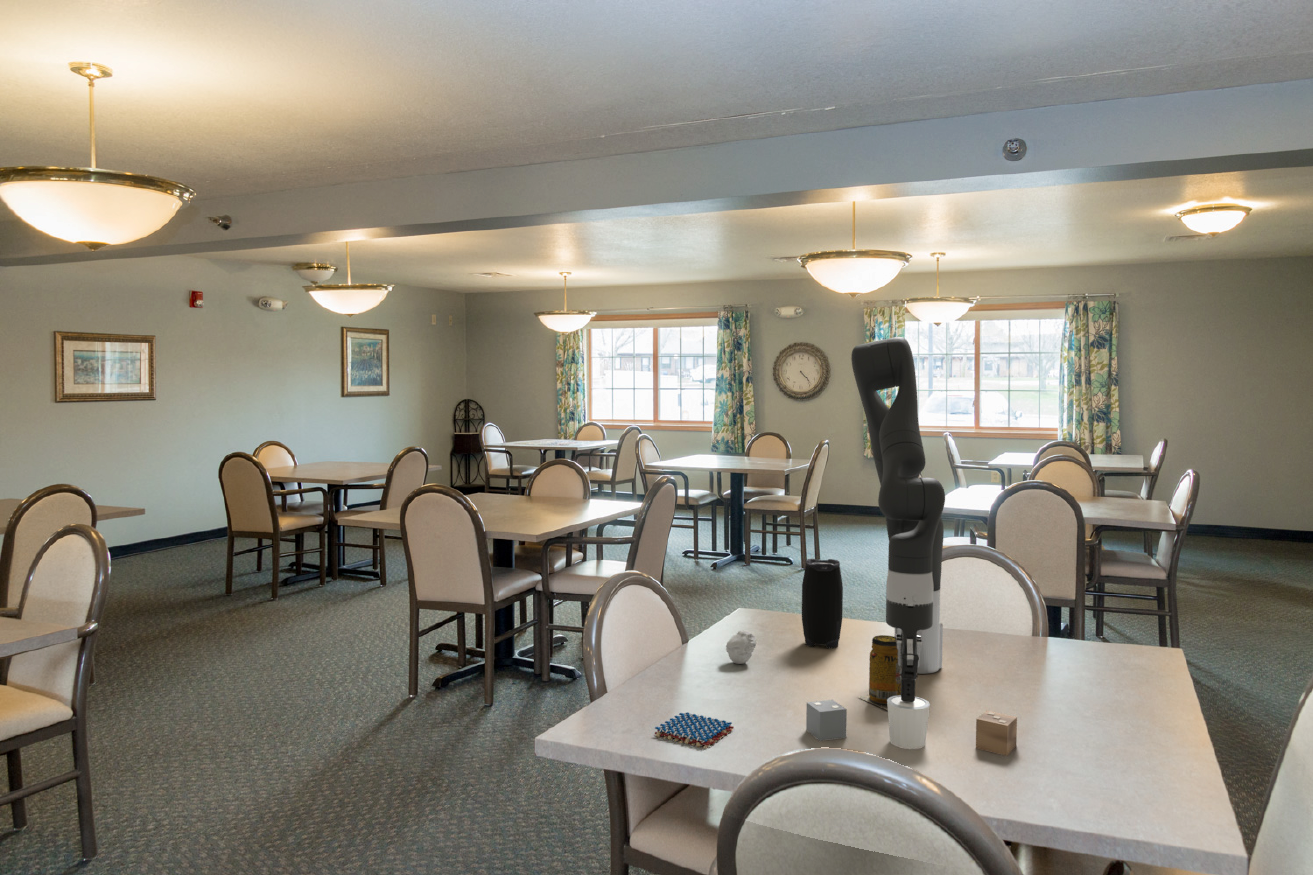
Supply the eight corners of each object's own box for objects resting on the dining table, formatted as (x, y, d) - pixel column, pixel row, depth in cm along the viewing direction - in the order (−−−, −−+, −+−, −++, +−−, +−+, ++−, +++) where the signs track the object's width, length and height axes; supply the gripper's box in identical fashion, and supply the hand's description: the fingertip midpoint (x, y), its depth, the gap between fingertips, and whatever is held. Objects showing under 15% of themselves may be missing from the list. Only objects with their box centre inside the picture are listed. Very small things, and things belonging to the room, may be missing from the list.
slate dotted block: (832, 727, 157) (832, 698, 157) (846, 738, 152) (846, 708, 152) (806, 730, 156) (806, 701, 156) (819, 741, 151) (820, 711, 151)
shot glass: (880, 735, 153) (881, 694, 153) (919, 734, 154) (920, 693, 154) (894, 751, 147) (895, 708, 146) (935, 749, 147) (936, 707, 147)
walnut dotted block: (985, 739, 152) (986, 709, 152) (1016, 746, 149) (1017, 716, 149) (975, 748, 148) (976, 718, 148) (1006, 756, 145) (1007, 725, 145)
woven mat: (707, 752, 147) (707, 740, 147) (652, 739, 153) (652, 727, 153) (736, 732, 156) (736, 721, 156) (683, 720, 162) (683, 709, 161)
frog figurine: (762, 664, 194) (762, 632, 193) (737, 669, 190) (737, 636, 190) (744, 657, 199) (744, 626, 198) (719, 662, 195) (719, 630, 195)
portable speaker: (794, 641, 211) (795, 559, 210) (828, 637, 215) (829, 556, 214) (814, 651, 203) (815, 565, 203) (849, 647, 207) (850, 562, 206)
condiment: (887, 692, 176) (888, 631, 175) (918, 706, 168) (919, 642, 167) (857, 698, 172) (858, 636, 172) (887, 712, 165) (888, 647, 164)
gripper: (885, 587, 156) (883, 686, 157) (886, 604, 144) (885, 711, 144) (930, 590, 155) (928, 689, 156) (936, 607, 142) (933, 715, 143)
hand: (907, 700), depth 150 cm, fingers closed
